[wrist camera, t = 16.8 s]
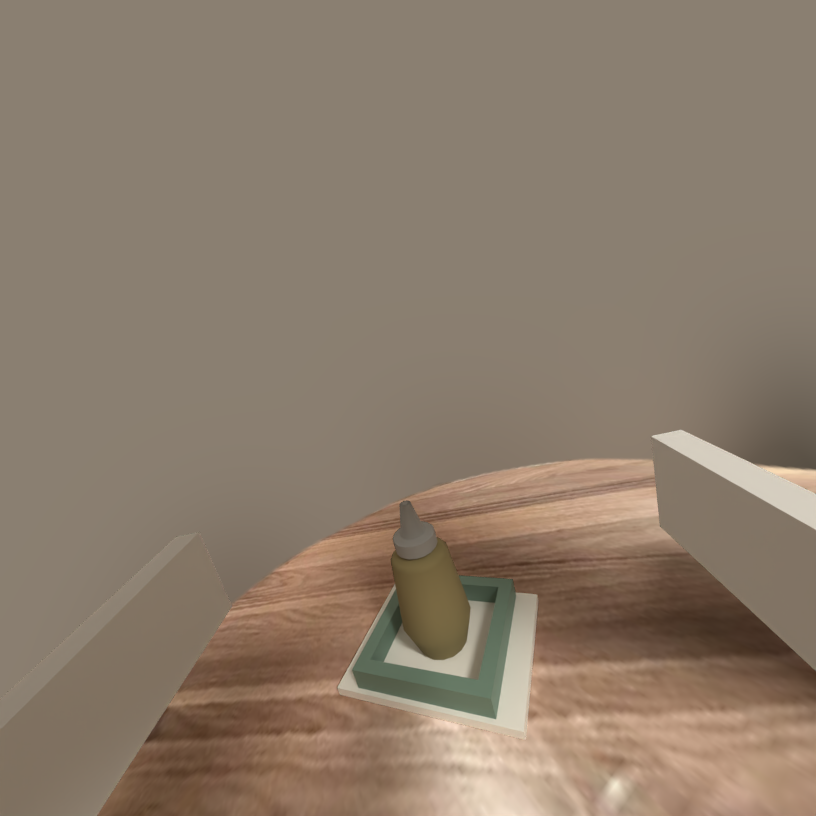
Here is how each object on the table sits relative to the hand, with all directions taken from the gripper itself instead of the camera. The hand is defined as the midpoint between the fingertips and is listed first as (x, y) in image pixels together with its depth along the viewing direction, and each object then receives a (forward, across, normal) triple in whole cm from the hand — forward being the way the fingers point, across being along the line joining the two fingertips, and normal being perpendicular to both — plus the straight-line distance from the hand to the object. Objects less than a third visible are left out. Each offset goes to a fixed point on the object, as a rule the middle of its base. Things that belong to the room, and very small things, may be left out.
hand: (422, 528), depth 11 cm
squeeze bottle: (+26, -5, -31) cm, 41 cm away
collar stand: (+26, -5, -32) cm, 42 cm away
